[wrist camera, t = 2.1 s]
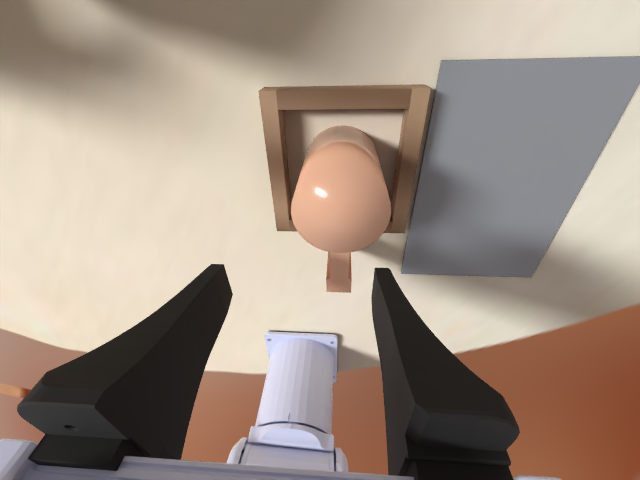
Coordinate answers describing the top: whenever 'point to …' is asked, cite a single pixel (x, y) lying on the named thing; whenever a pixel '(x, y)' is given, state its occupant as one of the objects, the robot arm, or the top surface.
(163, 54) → the top surface
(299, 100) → the holder
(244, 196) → the top surface
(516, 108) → the mat
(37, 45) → the top surface
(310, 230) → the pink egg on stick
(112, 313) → the top surface
